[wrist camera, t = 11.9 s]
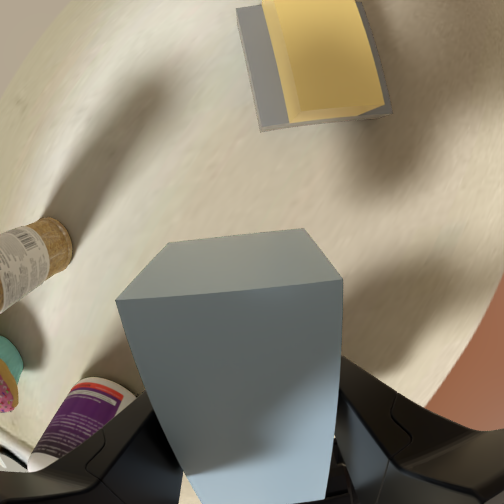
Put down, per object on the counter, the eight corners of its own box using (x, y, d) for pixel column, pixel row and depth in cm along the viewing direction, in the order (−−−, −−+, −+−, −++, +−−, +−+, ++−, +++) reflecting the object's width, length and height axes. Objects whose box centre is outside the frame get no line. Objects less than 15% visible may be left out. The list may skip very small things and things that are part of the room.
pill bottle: (65, 392, 25) (3, 492, 11) (98, 357, 23) (20, 482, 9) (125, 438, 26) (86, 544, 12) (167, 412, 25) (131, 546, 11)
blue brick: (309, 420, 11) (324, 499, 7) (212, 428, 11) (203, 506, 7) (303, 228, 9) (342, 278, 5) (168, 242, 9) (115, 299, 5)
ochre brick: (356, 115, 16) (384, 104, 12) (289, 123, 16) (301, 111, 12) (325, 1, 13) (341, -31, 10) (261, 5, 14) (264, -30, 10)
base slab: (374, 119, 18) (392, 113, 15) (259, 133, 19) (261, 127, 16) (348, 19, 16) (361, 2, 13) (237, 27, 17) (235, 8, 14)
